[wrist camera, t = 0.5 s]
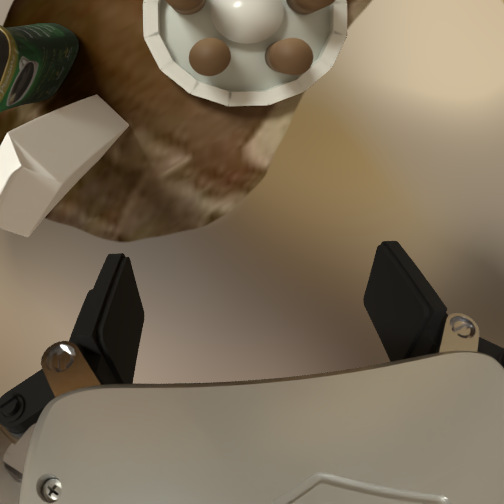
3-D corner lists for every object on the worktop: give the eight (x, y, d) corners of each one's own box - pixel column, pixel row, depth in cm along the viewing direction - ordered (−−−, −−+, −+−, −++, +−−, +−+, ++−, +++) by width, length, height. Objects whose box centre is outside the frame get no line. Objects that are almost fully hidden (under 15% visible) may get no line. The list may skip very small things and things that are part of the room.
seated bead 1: (193, 42, 29) (188, 39, 24) (228, 40, 29) (230, 36, 24) (194, 75, 31) (189, 77, 26) (229, 73, 31) (231, 75, 26)
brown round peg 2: (264, 40, 29) (273, 36, 24) (298, 42, 30) (313, 39, 25) (264, 72, 31) (273, 74, 26) (298, 73, 32) (312, 76, 27)
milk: (130, 124, 34) (45, 206, 16) (99, 159, 36) (11, 263, 18) (96, 93, 31) (-19, 145, 13) (67, 129, 33) (-45, 211, 15)
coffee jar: (46, 16, 24) (-56, 12, 9) (91, 39, 27) (-4, 38, 12) (12, 83, 28) (-89, 119, 12) (53, 107, 31) (-43, 155, 16)
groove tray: (147, -56, 21) (143, -62, 19) (339, -55, 23) (345, -60, 21) (151, 110, 33) (147, 113, 32) (338, 106, 35) (344, 108, 33)
